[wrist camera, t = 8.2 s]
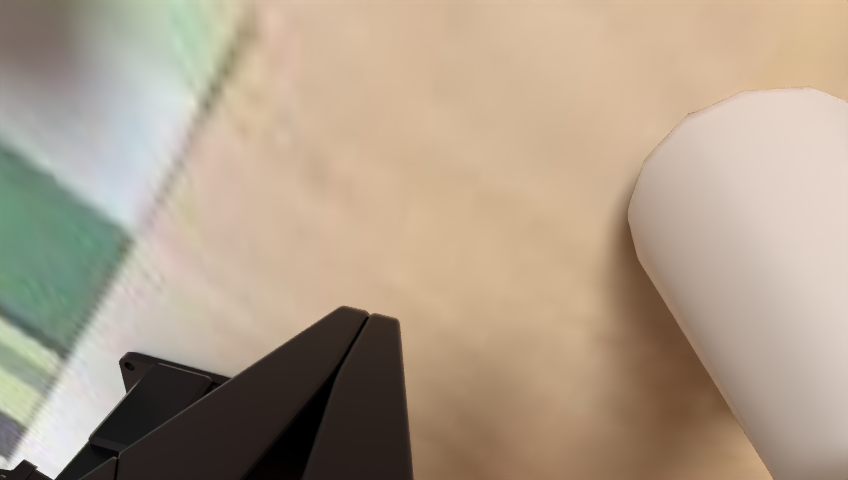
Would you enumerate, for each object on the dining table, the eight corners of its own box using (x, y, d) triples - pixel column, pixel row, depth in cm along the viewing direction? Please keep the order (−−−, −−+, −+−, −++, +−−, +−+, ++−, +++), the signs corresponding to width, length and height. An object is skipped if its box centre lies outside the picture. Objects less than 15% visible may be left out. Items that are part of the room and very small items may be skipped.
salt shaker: (798, 276, 16) (1251, 1036, 5) (599, 240, 17) (651, 839, 6) (911, 78, 13) (2539, 961, 2) (659, 44, 14) (976, 581, 3)
